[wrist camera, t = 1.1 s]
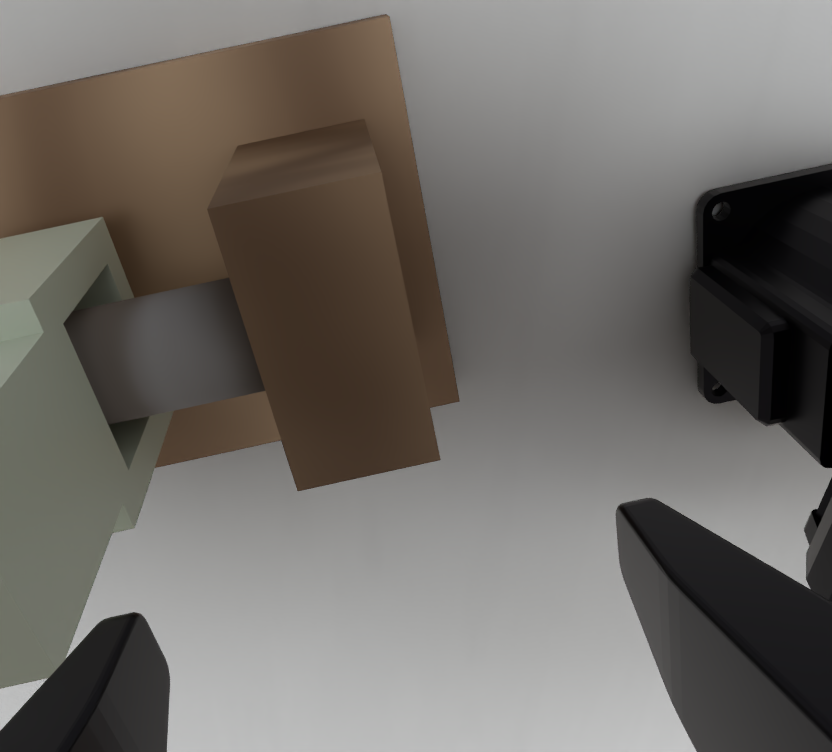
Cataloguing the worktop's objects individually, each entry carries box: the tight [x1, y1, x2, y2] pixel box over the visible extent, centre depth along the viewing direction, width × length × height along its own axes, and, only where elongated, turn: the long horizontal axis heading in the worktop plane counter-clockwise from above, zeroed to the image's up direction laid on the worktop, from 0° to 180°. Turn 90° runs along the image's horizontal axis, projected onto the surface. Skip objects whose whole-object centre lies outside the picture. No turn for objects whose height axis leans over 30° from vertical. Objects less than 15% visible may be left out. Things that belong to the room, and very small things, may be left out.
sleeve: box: [0, 217, 174, 688], centre depth 14 cm, size 3×5×9 cm, turn 11°
